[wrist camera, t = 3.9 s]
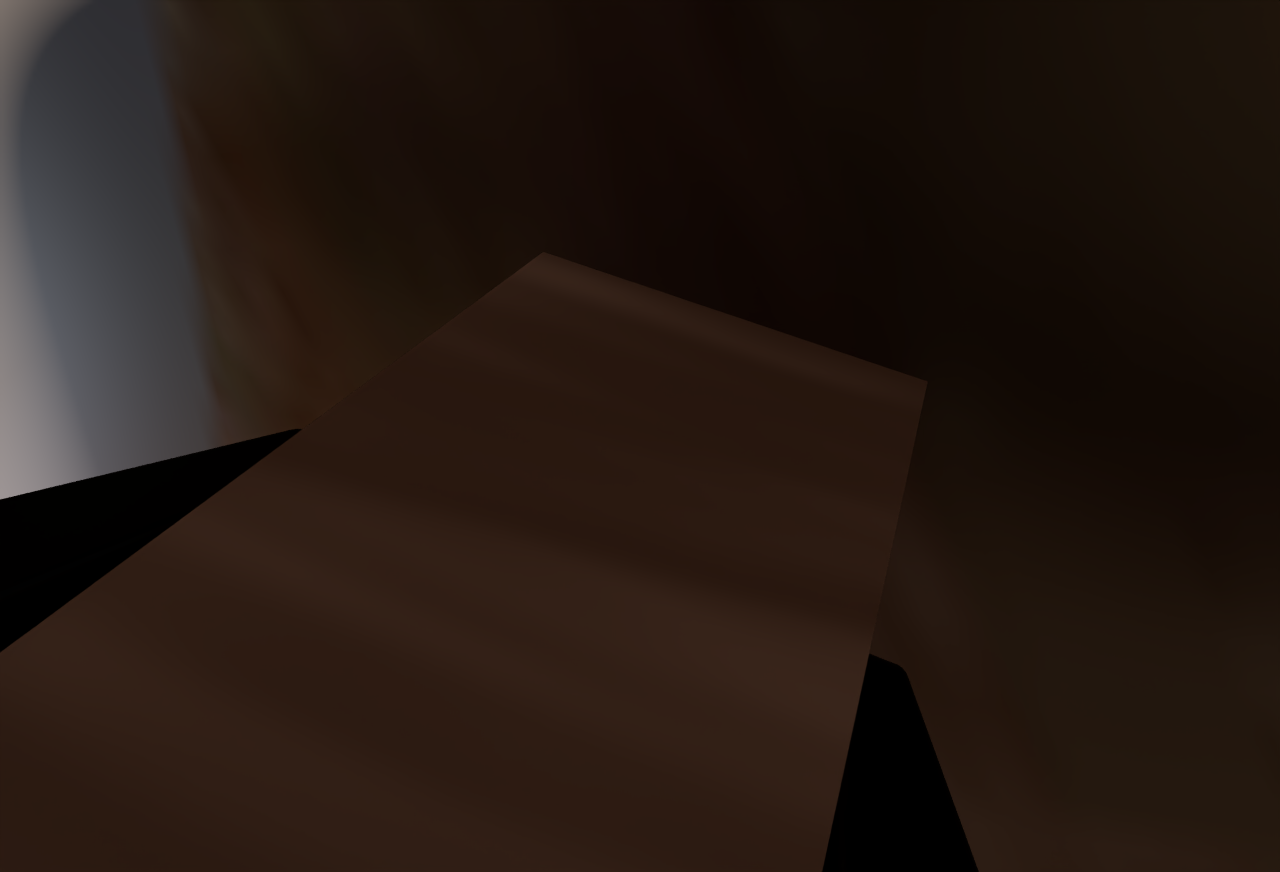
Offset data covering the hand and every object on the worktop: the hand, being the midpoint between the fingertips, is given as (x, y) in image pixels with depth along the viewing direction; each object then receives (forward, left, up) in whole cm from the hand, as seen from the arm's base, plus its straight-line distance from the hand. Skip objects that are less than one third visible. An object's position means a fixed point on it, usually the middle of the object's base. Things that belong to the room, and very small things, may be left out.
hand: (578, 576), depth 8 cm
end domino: (0, 0, -4) cm, 4 cm away
